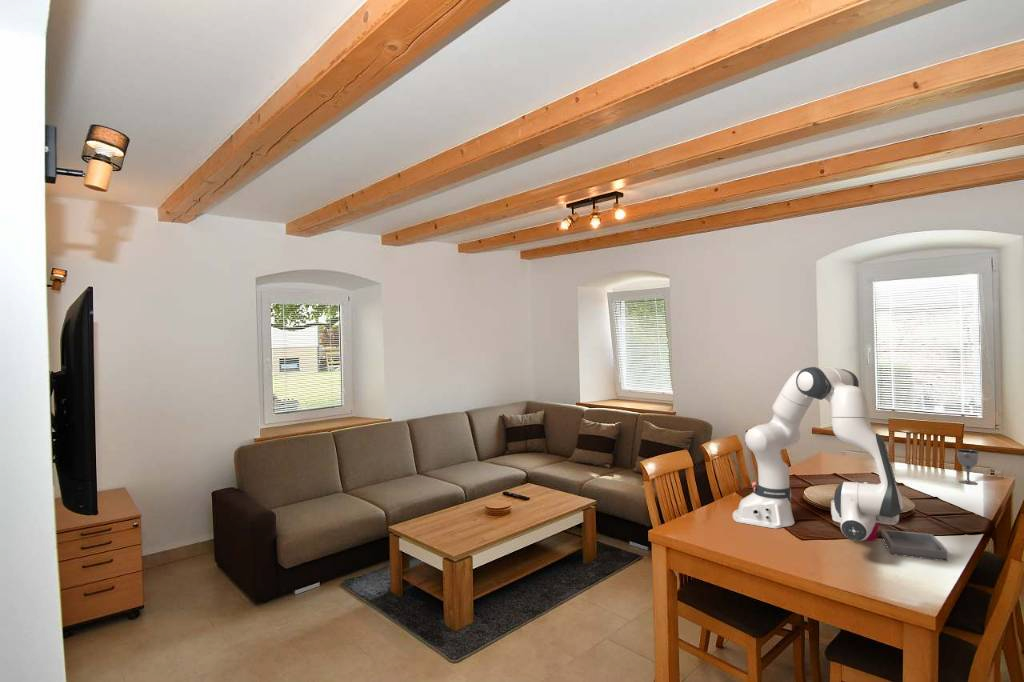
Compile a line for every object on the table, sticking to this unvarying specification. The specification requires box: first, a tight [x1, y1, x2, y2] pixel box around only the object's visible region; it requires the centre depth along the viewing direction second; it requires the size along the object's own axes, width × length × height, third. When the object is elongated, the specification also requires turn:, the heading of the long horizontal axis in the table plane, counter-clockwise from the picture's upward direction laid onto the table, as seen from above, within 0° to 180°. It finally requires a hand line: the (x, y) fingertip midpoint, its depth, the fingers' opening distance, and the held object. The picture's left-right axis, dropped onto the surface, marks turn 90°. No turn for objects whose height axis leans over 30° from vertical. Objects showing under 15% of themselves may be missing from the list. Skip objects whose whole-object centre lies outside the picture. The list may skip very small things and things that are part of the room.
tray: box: [881, 528, 948, 562], centre depth 187 cm, size 15×16×3 cm
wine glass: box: [956, 448, 980, 486], centre depth 256 cm, size 8×8×15 cm
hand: (866, 505), depth 197 cm, fingers closed on pepper mill, 5 cm apart
